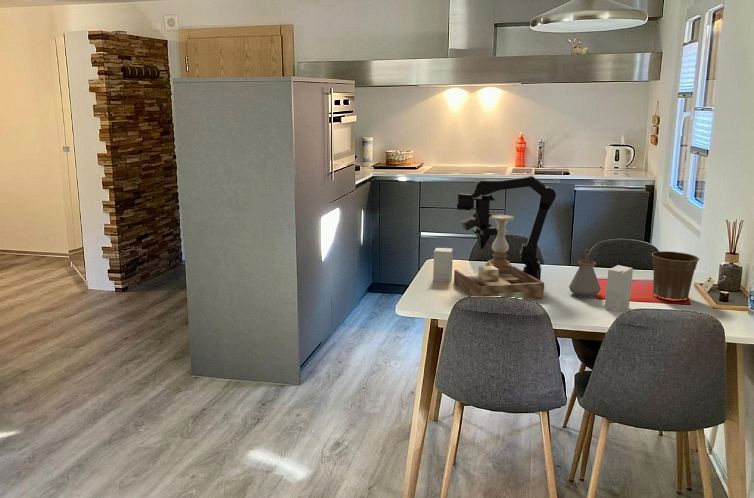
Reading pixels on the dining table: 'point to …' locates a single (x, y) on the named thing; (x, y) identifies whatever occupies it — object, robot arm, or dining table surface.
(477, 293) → the box
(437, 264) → the supplement box
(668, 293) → the plant pot
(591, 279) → the coffee pot
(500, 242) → the candle holder
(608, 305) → the skincare box
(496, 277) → the birch block
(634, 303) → the dining table surface
